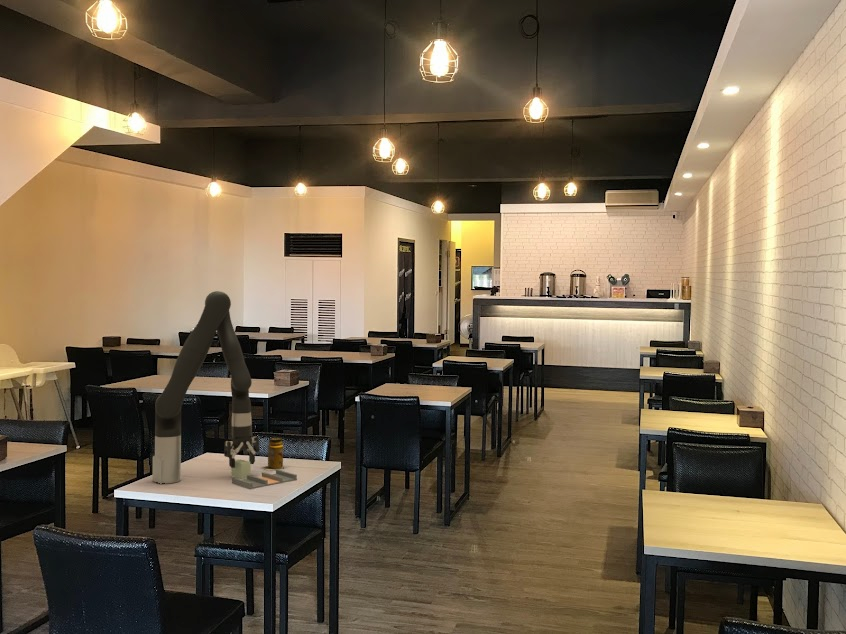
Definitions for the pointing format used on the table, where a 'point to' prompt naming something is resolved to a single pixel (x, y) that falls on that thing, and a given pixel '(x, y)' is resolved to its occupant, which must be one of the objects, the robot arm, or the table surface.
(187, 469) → the table surface
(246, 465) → the plug
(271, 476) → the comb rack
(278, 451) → the condiment
